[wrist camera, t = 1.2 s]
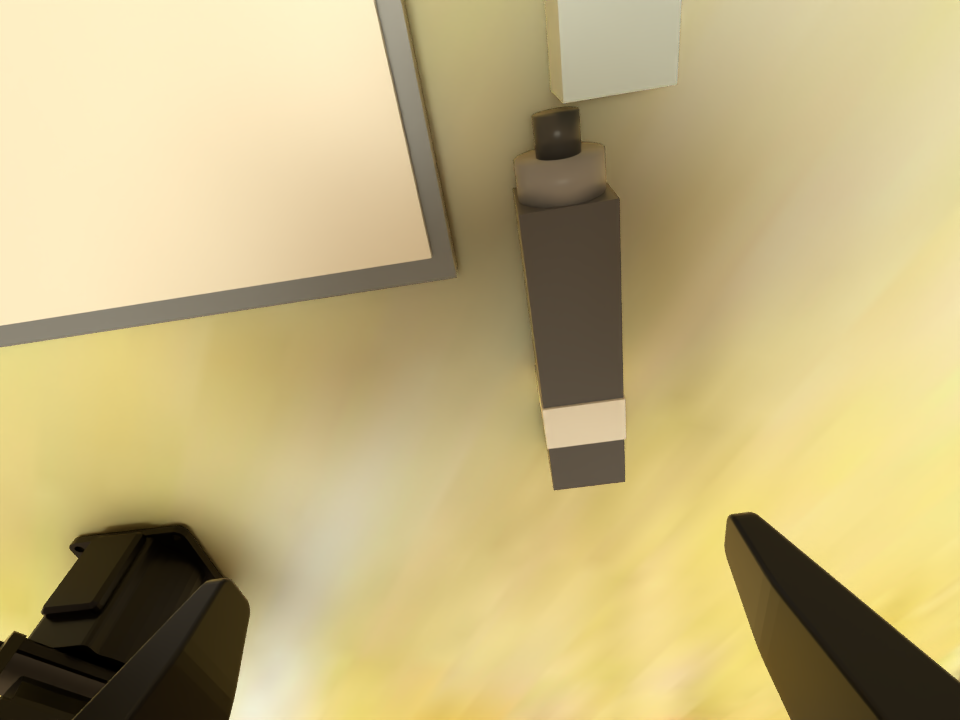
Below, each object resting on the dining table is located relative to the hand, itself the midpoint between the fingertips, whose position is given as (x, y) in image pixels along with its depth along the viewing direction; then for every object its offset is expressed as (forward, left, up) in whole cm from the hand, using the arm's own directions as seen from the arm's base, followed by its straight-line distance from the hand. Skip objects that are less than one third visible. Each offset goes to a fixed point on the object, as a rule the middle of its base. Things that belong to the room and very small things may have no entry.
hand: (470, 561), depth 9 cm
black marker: (-2, -3, -13) cm, 13 cm away
